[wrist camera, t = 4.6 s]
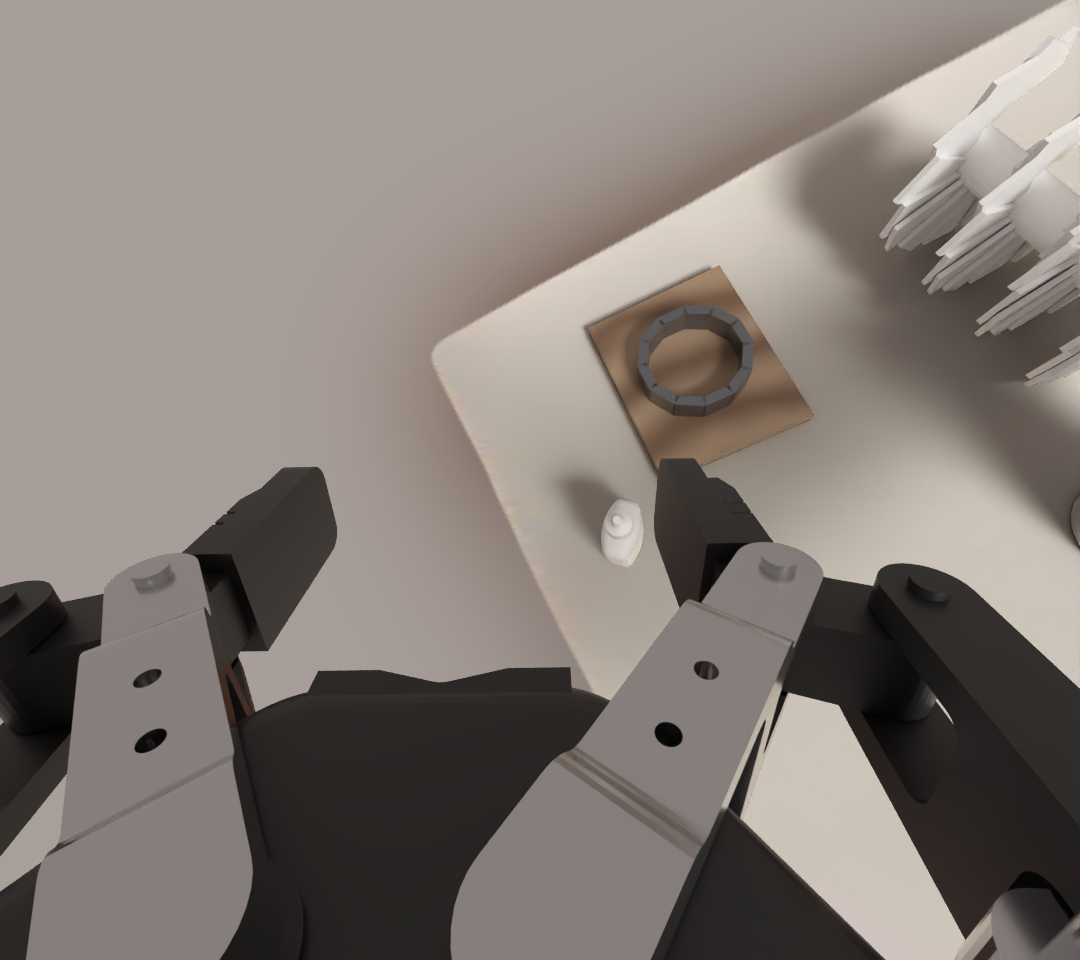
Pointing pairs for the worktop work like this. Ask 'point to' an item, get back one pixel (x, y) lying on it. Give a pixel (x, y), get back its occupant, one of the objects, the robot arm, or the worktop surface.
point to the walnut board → (698, 376)
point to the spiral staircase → (1001, 208)
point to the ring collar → (701, 320)
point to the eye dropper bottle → (622, 533)
